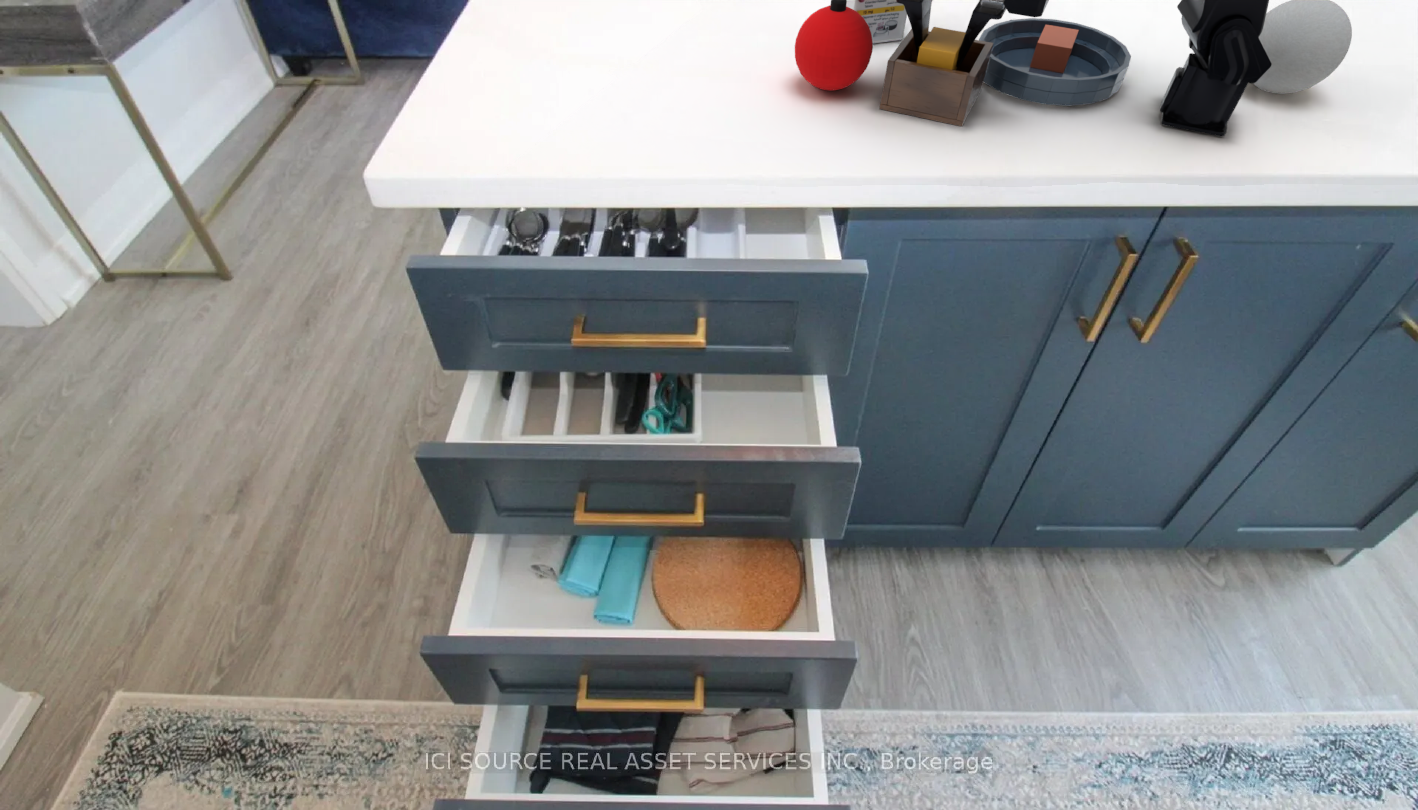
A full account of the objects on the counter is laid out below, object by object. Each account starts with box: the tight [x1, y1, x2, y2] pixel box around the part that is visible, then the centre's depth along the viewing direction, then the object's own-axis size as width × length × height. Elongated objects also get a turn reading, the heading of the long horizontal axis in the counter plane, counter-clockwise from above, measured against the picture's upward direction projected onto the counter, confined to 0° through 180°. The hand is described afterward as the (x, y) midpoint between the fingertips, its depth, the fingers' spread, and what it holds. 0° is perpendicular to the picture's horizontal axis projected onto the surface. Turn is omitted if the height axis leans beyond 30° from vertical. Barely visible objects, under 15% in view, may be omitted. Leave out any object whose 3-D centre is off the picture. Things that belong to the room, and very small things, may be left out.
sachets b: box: [1030, 25, 1079, 73], centre depth 93 cm, size 4×6×3 cm, turn 154°
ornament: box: [794, 0, 874, 92], centre depth 87 cm, size 9×9×10 cm
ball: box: [1252, 0, 1353, 95], centre depth 86 cm, size 10×10×10 cm
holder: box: [879, 28, 993, 127], centre depth 86 cm, size 10×10×6 cm
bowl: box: [978, 17, 1132, 107], centre depth 91 cm, size 17×17×4 cm
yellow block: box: [917, 26, 966, 70], centre depth 85 cm, size 4×6×3 cm, turn 154°
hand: (939, 62), depth 85 cm, fingers closed on yellow block, 4 cm apart
